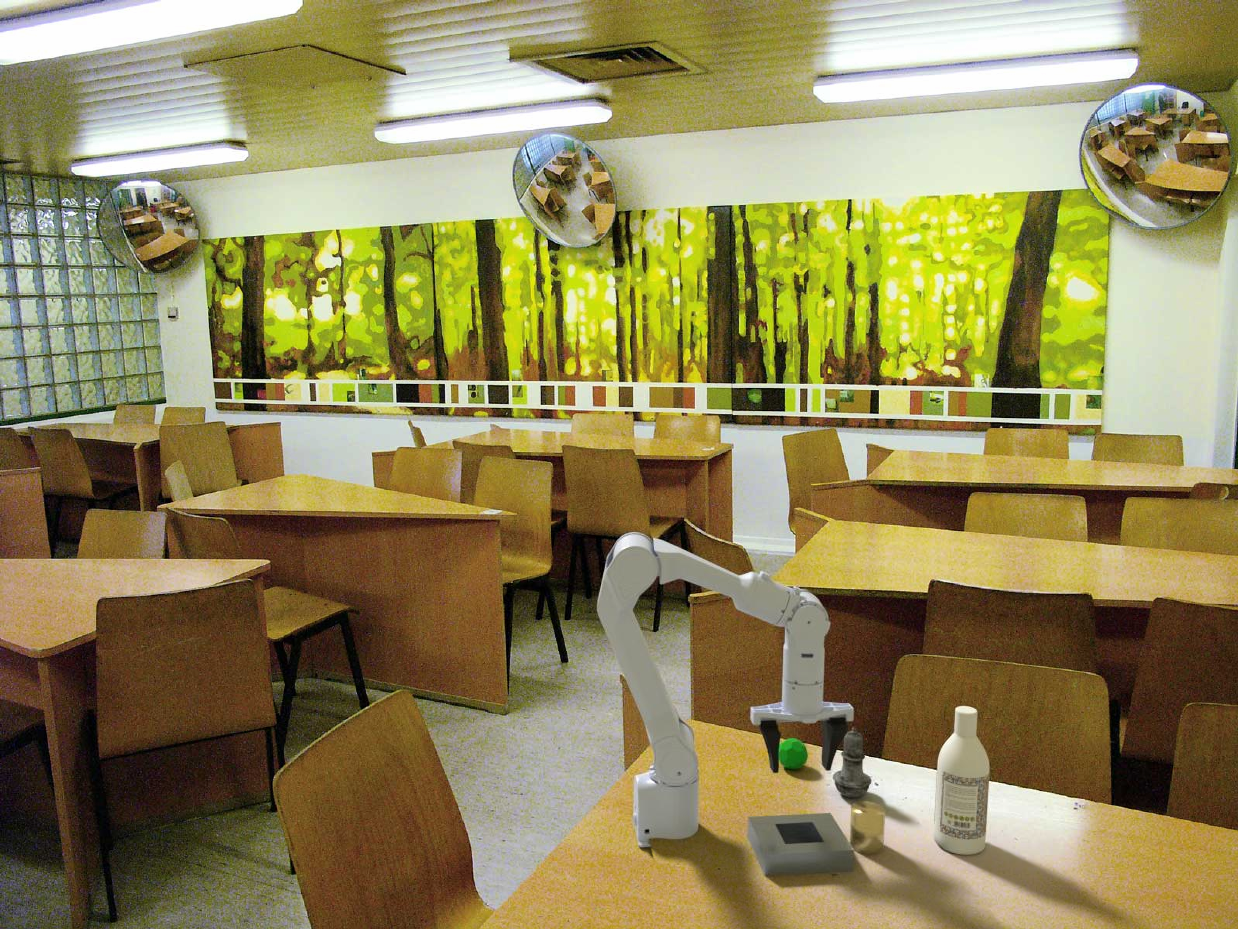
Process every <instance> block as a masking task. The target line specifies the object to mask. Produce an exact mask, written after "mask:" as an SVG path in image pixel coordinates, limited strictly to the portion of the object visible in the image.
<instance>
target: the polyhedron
mask: <svg viewBox="0 0 1238 929" xmlns="http://www.w3.org/2000/svg"><path fill="white" fill-rule="evenodd" d="M808 758H809V754H808V749H807V746H806V745H805V743H803V741H801V740H799V739H798V738H793V737H789V738H787V739H785V740H783V741H782V742H780V744H779V764H781V765H782V766H783V767H784V768H786V769H788V770H798V769H800V768H802V767H804V766H805V764H806V763H807V761H808Z"/></svg>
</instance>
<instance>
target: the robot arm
mask: <svg viewBox="0 0 1238 929" xmlns="http://www.w3.org/2000/svg"><path fill="white" fill-rule="evenodd" d="M652 539H653V540H652ZM605 560H606V561H605V565H604V566H605V567H604V571H603V575H602V578H601V585H600V589H599V593H598V597H597V604H596V612H597V615H598V619H599V620H600V622H601V625H602V628H603V629H604V631H605V635H606V637H607V639H608V641H609V643H610V647H611V648H612V651H613V653H614V656H615V658H616V660H617V663H618V664H619V667H620V669H621V672H622V673H623V677H624V679H625V681H626V683H627V686H628V689H629V690H630V692H631V695H632V698H633V699H634V701H635V704H636V706H637V709H638V711H639V714H640V715H641V718H642V721H643V723H644V726H645V731H646V735H647V737H648V742H649V745H650V747H651V749H652V752H653V754H652V755H653V761H652V764H651V765H650V766H649V770H648V771H646V772H644V773H640V774H636V775H634V777H633V813H632V825H633V827H634V831H635V835H636V840H637V843H638V847H639V848H652V847H651V841H650V839H664V840H665V839H667V840H682V839H683V840H684V839H687V838H690V837H692V836H695V834H696V833H697V832H698V831H699V817H700V816H699V815H700V814H699V813H700V812H699V808H700V807H699V805H700V803H699V802H700V801H699V798H700V797H699V796H700V770H699V759H698V756H697V752H696V746H695V735H694V734H695V733H694V730H693V728H692V726H690V724H689V723H687V721H685V720H684V719H683V718H682V717H681V716H680V713H679V712H678V709H677V708H676V706H675V705H674V704H673V703H672V702H673V701H672V699H671V697H670V694H669V693H668V690H667V688H666V686H665V683H664V681H663V678H662V676H661V674H660V672H659V669H658V667H657V664H656V662H655V660H654V657H653V655H652V653H651V652H652V651H650V648H649V645H648V643H647V641H646V640H647V639H645V636H644V634H643V631H642V628H641V627H640V623H639V622H638V620H637V618H636V615H635V613H634V610H633V609H634V608H635V605H636V604H637V602H638V600H639V598H640V596H641V595H642V594H643V593H644V592H646V591H647V590H648V589H649V588H650V587H651V585H653V583H654V582H655V581H656V579H657V577H658V579H659V580H658V581H659V584H660V585H664V584H667V583H670V582H673V581H676V580H683V581H686V582H688V583H691V584H695V585H696V586H700V587H702V588H705V589H707V590H710V591H712V592H716V593H719V594H721V595H724V596H725V597H730V598H731V599H732V602H733V604H734V607H735V609H736V610H738V611H740V612H742V613H745V614H747V615H749V616H751V617H754V618H757V619H759V620H761V621H764V622H766V623H768V624H771V625H773V626H775V627H783V628H784V629H785V630H784V644H783V646H782V647H783V648H782V649H783V650H782V652H783V654H782V655H783V656H782V658H783V659H782V683H781V684H782V685H781V686H782V687H781V690H782V692H781V695H782V696H781V701H780V702H776V703H774V702H773V703H770V704H769V703H768V704H765V705H758V706H750V715H749V716H750V719H749V720H750V722H751V723H752V725H753V726H758V728H759V730H760V733H761V735H762V736H761V737H763V740H764V744H765V746H766V750H767V754H768V761H769V768H770V770H771V771H772V773H773V774H778V773H779V768H780V761H779V745H780V744H781V738H782V733H781V731H780V729H779V725H778V723H789V722H801V723H803V724H815V723H818V722H817V721H820V722H821V729H822V730H821V732H822V735H821V736H822V746H821V765H822V767H823V768H824V770H825V771H827V772H829V771H831V770H832V765H833V762H834V760H835V756H836V754H837V750H838V749H839V747H840V745H841V743H842V741H844V737H845V735H846V734H847V732H849V725H848V724H847V723H846V722H854V712H855V711H854V709H855V708H854V707H853V706H852V705H851V704H850V703H848V702H847V703H845V702H844V703H841V702H830V701H829V702H828V701H824V679H825V677H824V676H825V654H826V653H825V647H824V646H825V637H826V635H827V634H828V633H829V630H830V628H831V621H829V615H828V612H827V610H826V608H825V607H824V606H823V604H822V603H821V601H820V599H819V598H818V597H817V596H816V595H815V594H813V593H811V592H810V591H809V590H808V589H802V588H800V587H798V586H796V585H793V586H792V587H789V586H787V585H786V584H782V583H780V582H778V581H775V580H773V579H771V575H770V574H769V573H768V572H765V571H763V570H760V572H759V573H756V572H754V571H749V572H747V573H743V574H740V575H738V574H736V573H734V572H732V571H730V570H728V569H726V568H723V567H721V566H720V565H717V564H714V563H713V562H711V561H709V560H707V559H704V558H702V557H700V556H698V555H696V554H694V553H691V552H690V551H688V550H685V549H683V548H681V547H680V546H678V545H674V544H671V543H670V542H667V541H665V540H663V539H659V538H656V537H653V538H650V537H649V536H648V535H646V534H645V533H642V532H637V531H635V532H634V531H633V532H631V531H630V532H628V533H625V534H623V535H621V536H620V537H619V538H618V539H617V540H616V542H615V543H614V545H613V547H612V548H611V550H610V552H608V555H607V557H606V559H605ZM647 830H648V831H647Z"/></svg>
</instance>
